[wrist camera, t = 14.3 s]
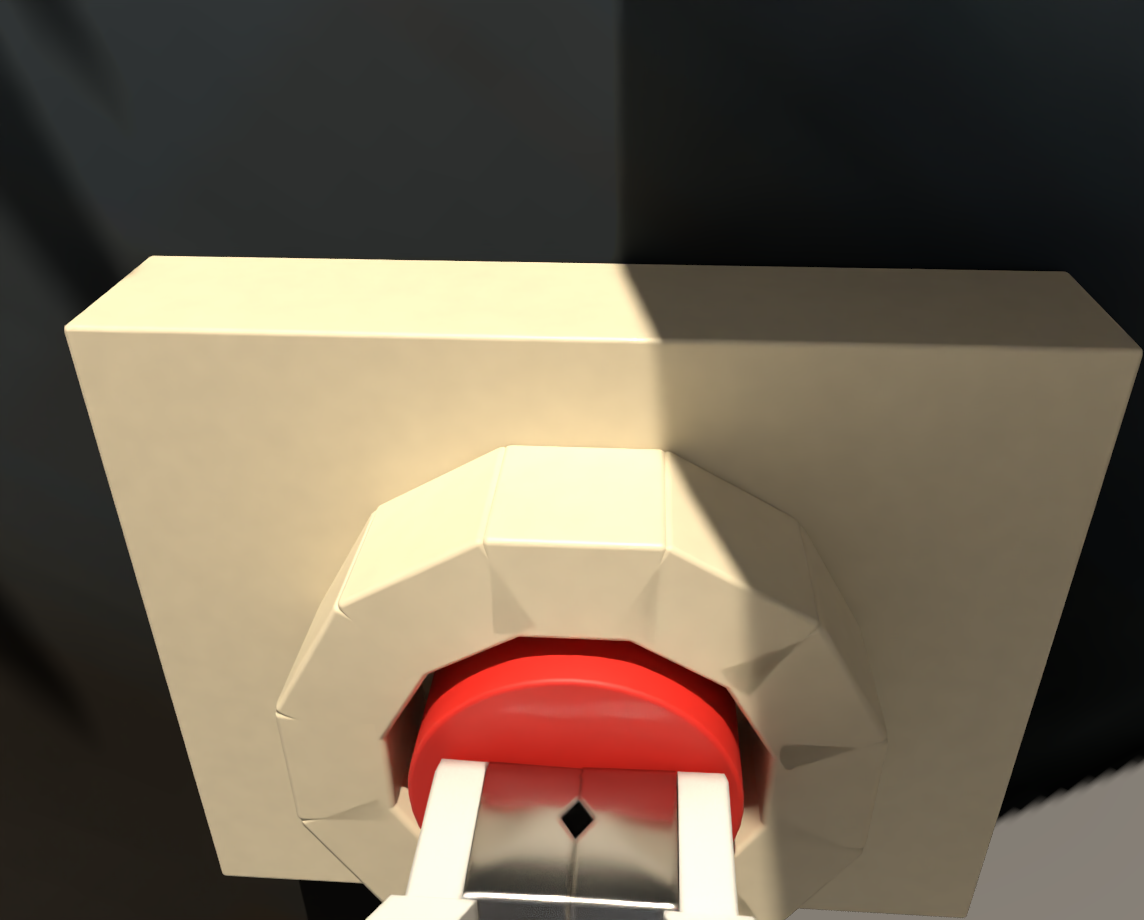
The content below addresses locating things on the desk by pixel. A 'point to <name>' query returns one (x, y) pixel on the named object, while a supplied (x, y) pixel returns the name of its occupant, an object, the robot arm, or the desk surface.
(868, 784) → the block
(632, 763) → the button
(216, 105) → the desk surface
